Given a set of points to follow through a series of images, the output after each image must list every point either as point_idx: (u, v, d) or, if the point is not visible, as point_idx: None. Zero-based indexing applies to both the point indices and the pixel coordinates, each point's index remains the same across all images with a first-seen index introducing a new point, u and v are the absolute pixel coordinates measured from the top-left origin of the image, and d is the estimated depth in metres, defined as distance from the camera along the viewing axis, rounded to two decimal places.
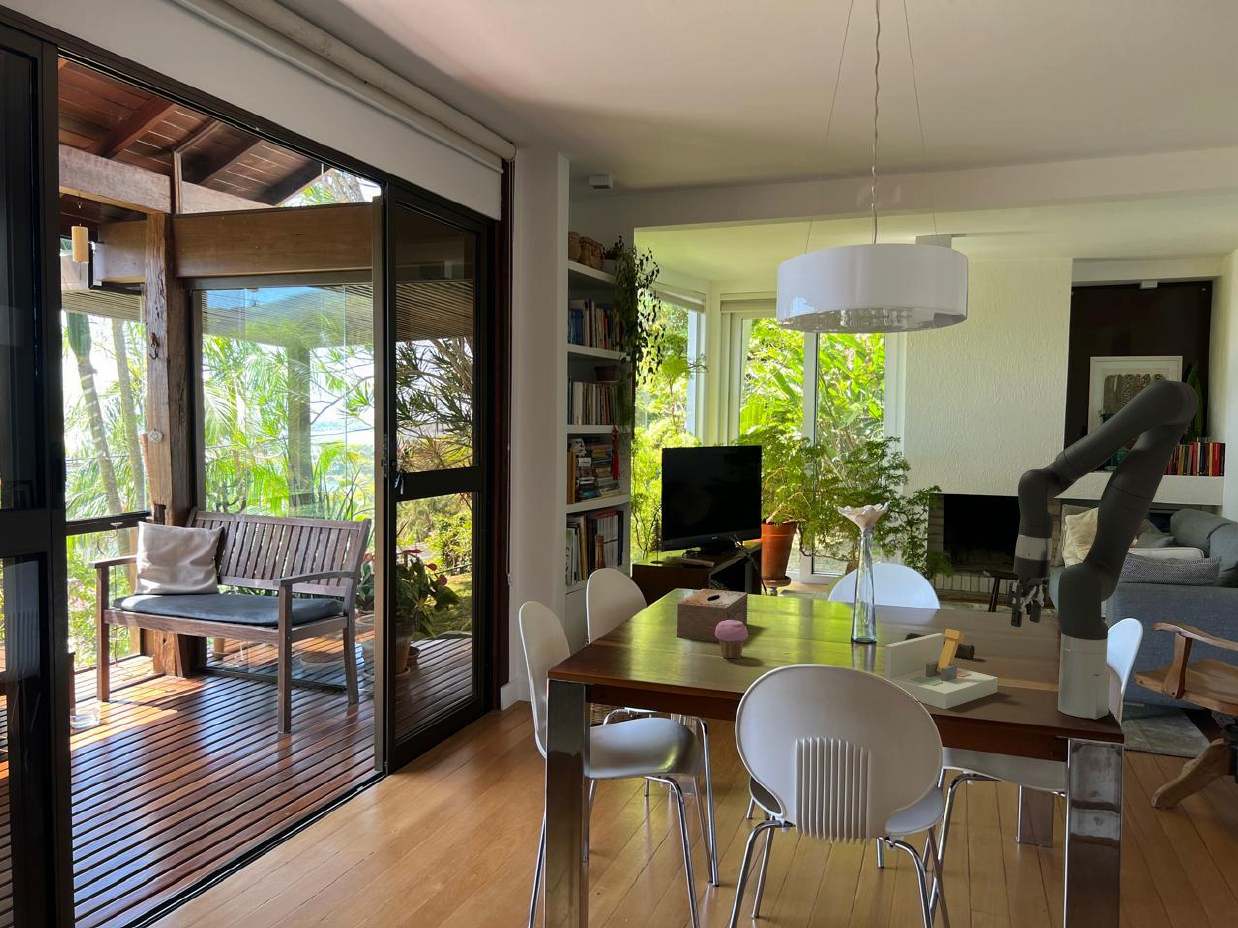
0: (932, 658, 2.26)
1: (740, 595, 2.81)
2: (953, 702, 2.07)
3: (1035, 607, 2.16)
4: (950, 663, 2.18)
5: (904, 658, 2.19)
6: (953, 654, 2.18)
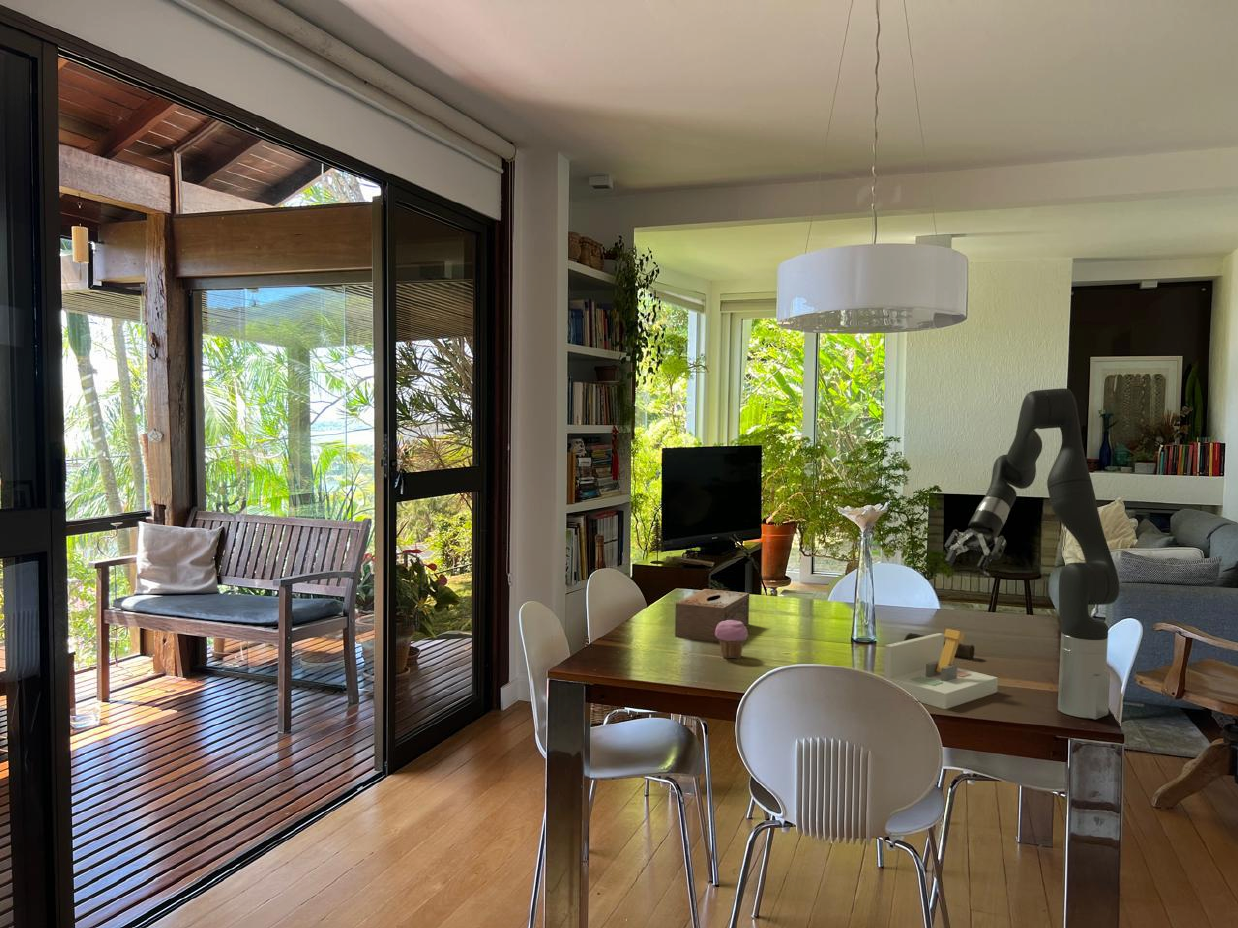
0: (932, 658, 2.26)
1: (741, 595, 2.81)
2: (953, 702, 2.07)
3: None
4: (950, 663, 2.18)
5: (904, 658, 2.19)
6: (953, 654, 2.18)
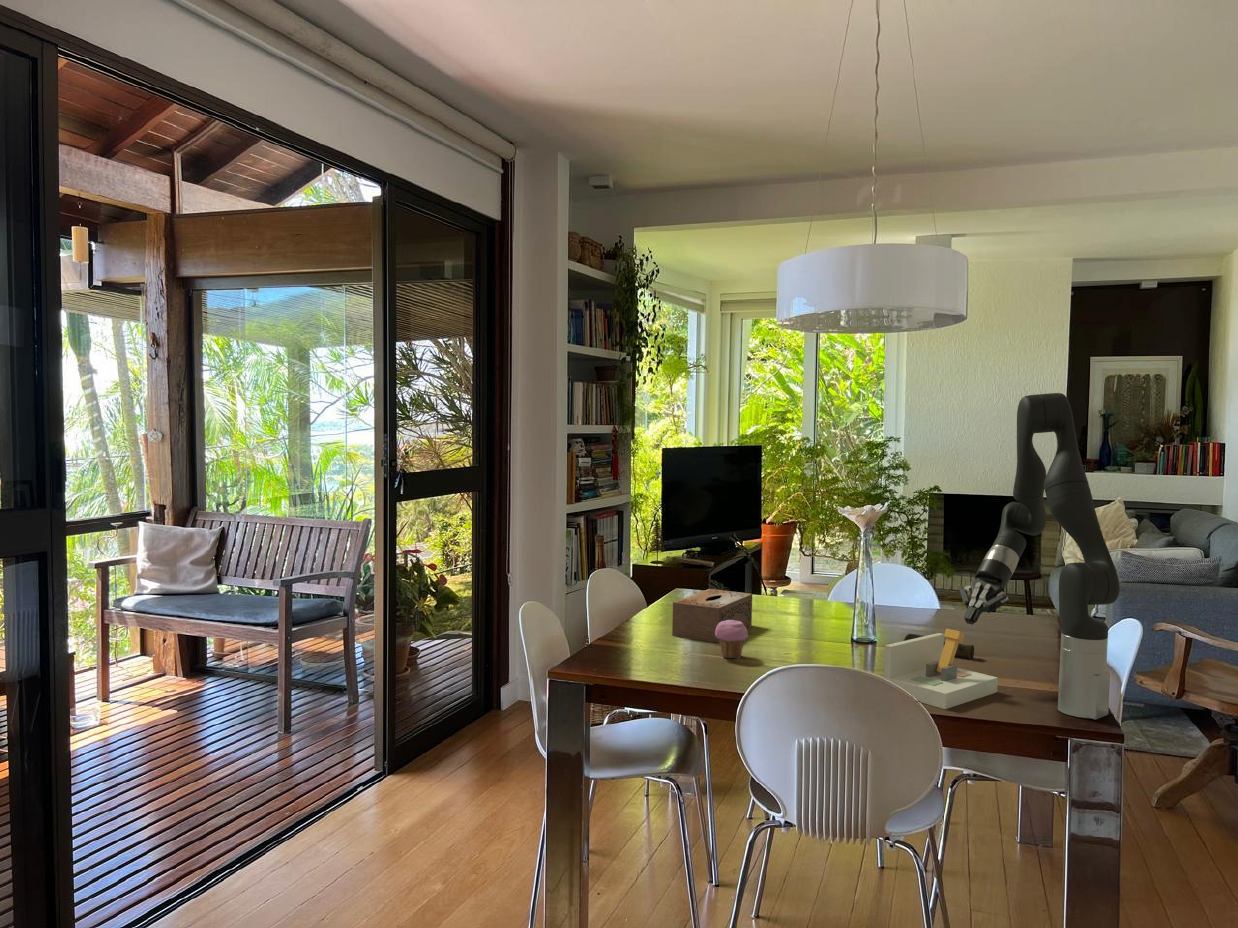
0: (932, 658, 2.26)
1: (742, 596, 2.80)
2: (953, 702, 2.07)
3: None
4: (950, 663, 2.18)
5: (904, 658, 2.19)
6: (953, 654, 2.18)
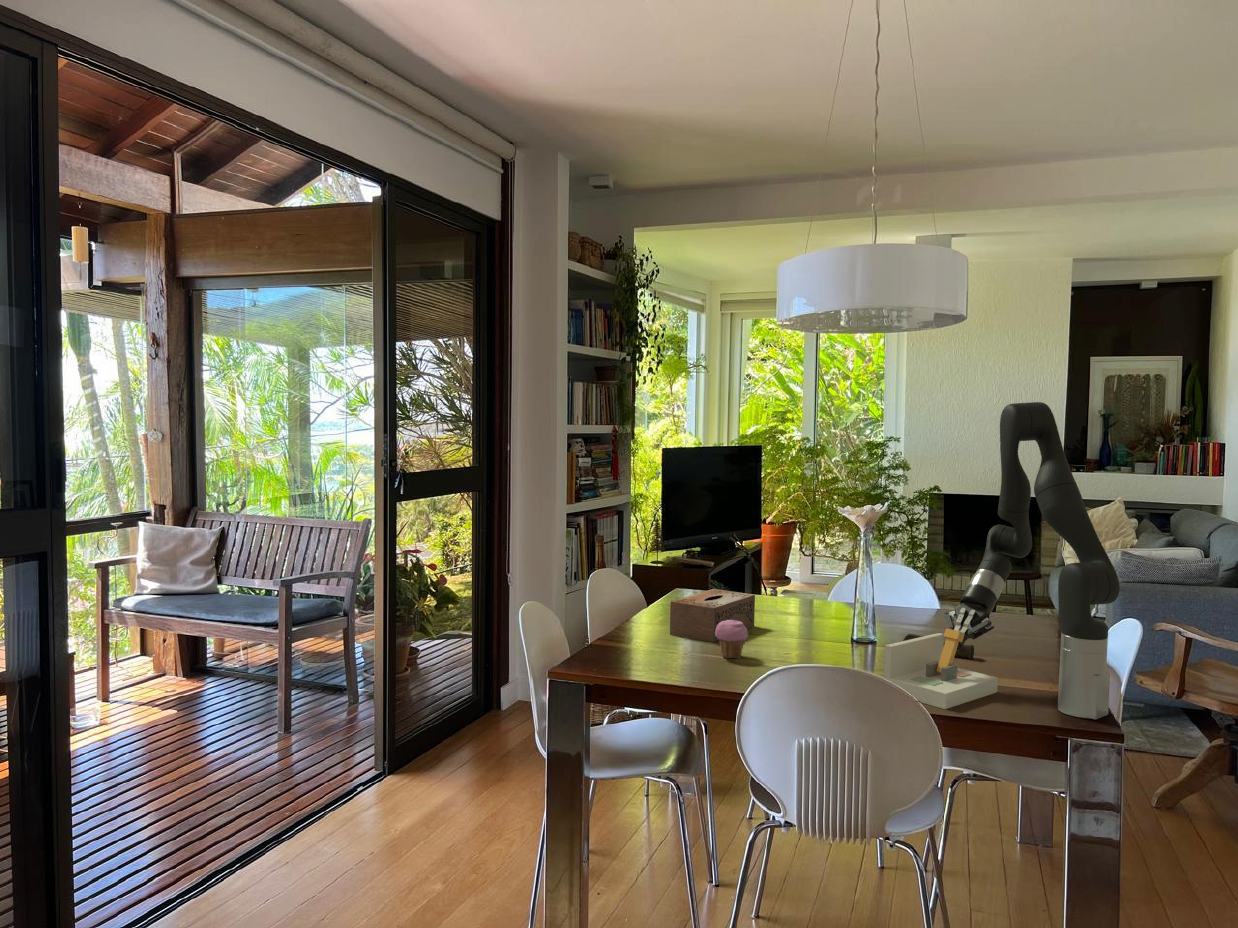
0: (932, 658, 2.26)
1: (744, 596, 2.79)
2: (953, 702, 2.07)
3: None
4: (950, 663, 2.18)
5: (904, 658, 2.19)
6: (953, 654, 2.18)
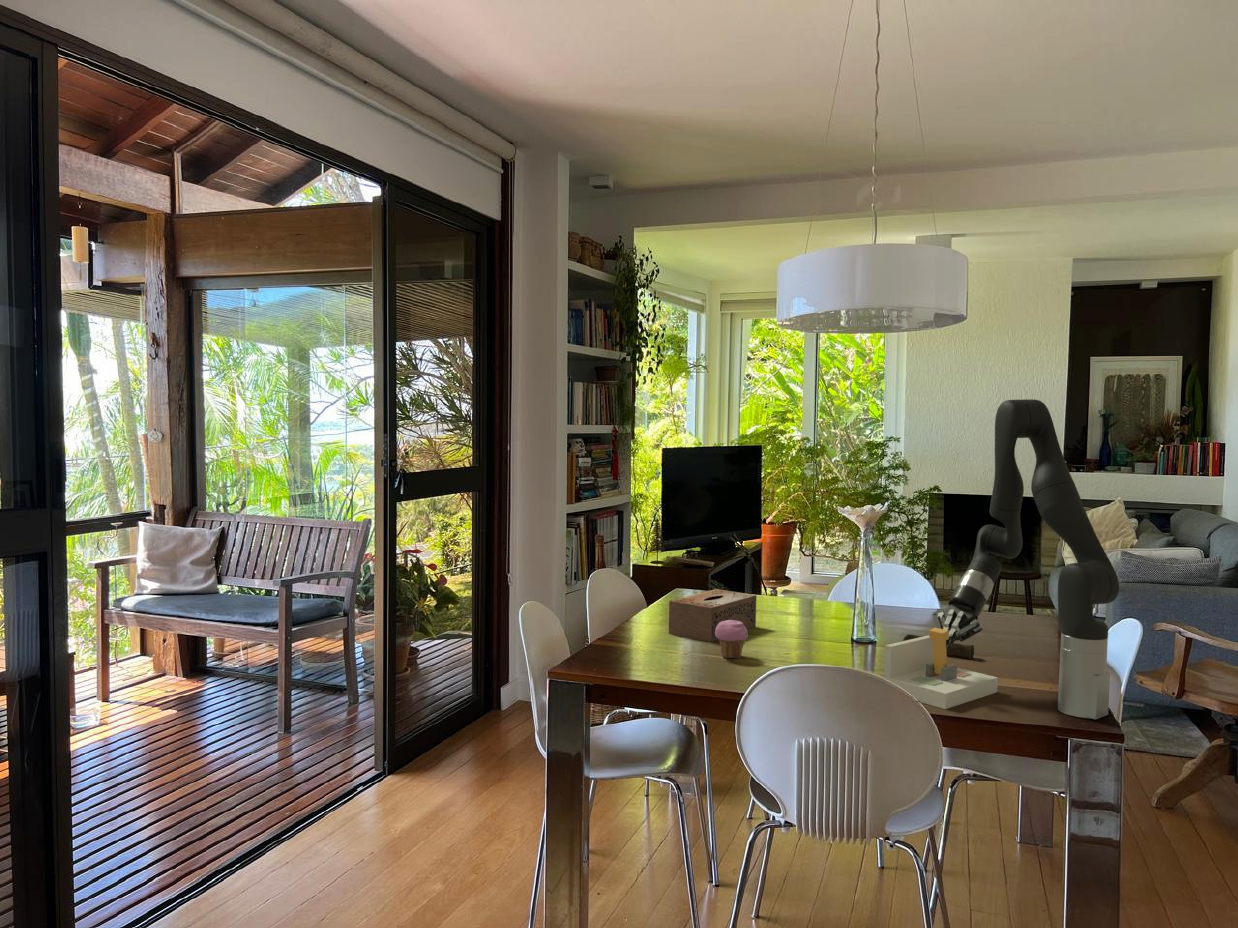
0: (932, 658, 2.26)
1: (744, 597, 2.79)
2: (953, 702, 2.07)
3: None
4: (945, 663, 2.16)
5: (904, 658, 2.19)
6: (944, 653, 2.16)
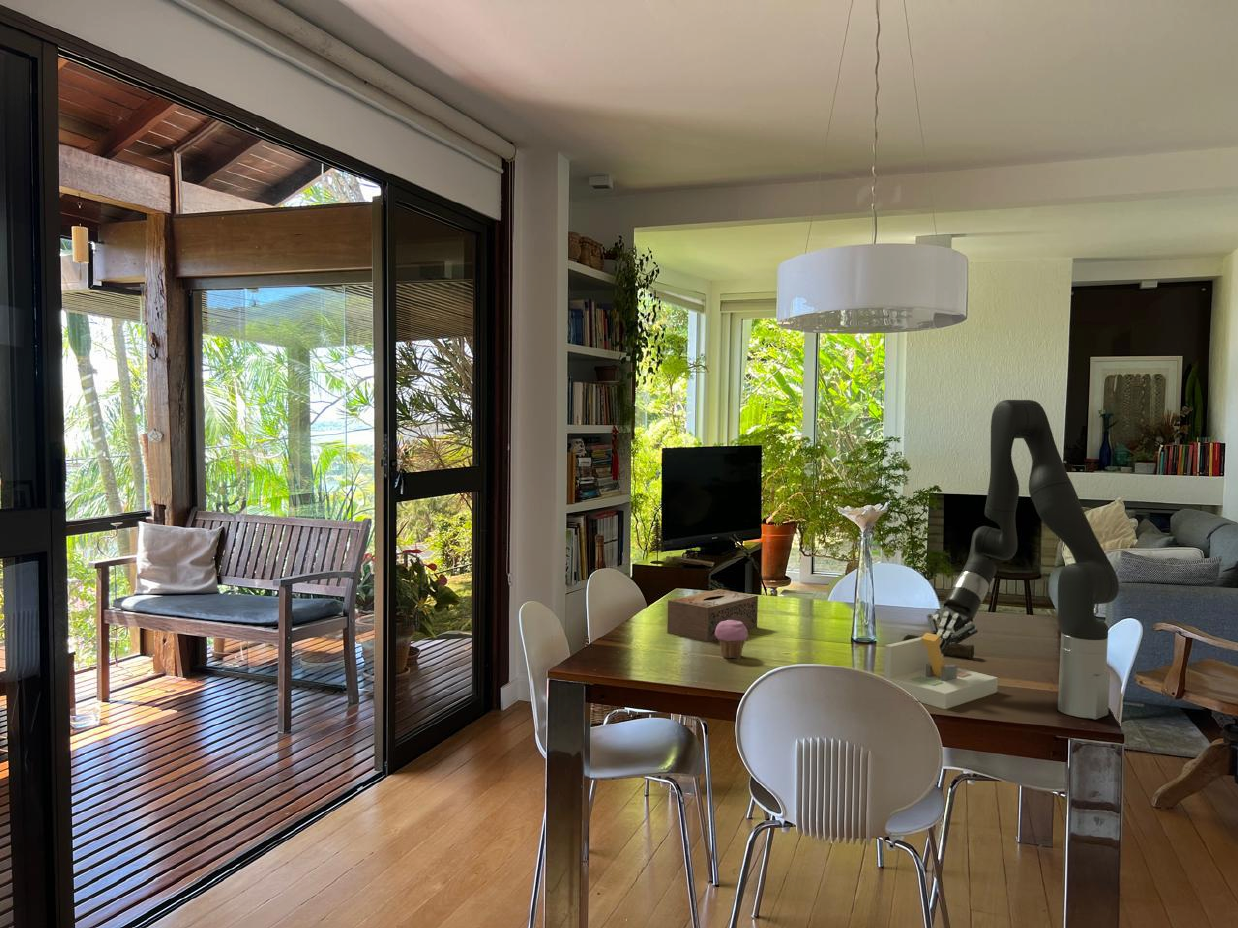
0: None
1: (745, 597, 2.78)
2: (953, 702, 2.07)
3: None
4: (942, 665, 2.16)
5: (904, 658, 2.19)
6: (940, 657, 2.15)
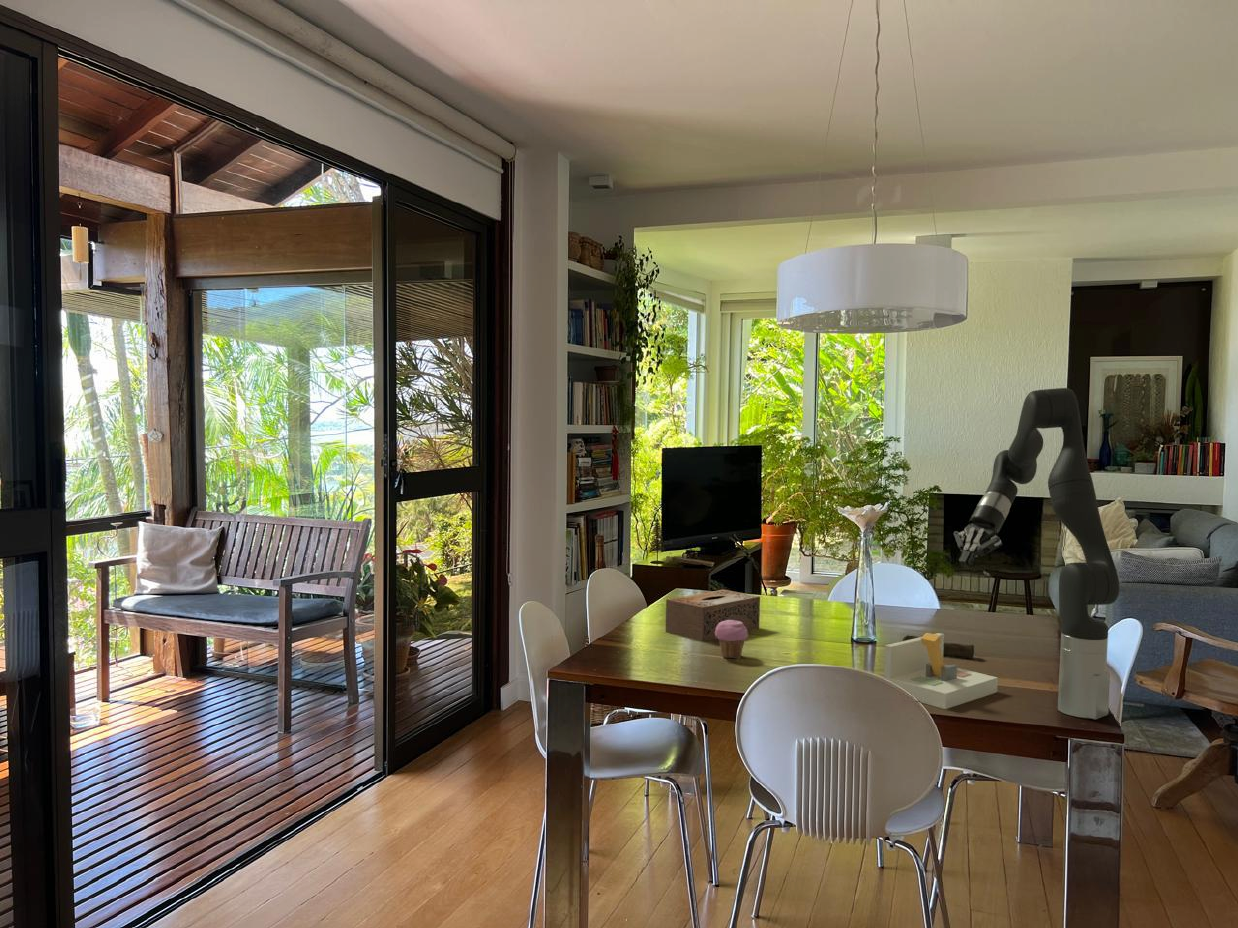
0: None
1: (746, 598, 2.77)
2: (953, 702, 2.07)
3: None
4: (942, 665, 2.16)
5: (904, 658, 2.19)
6: (940, 657, 2.15)
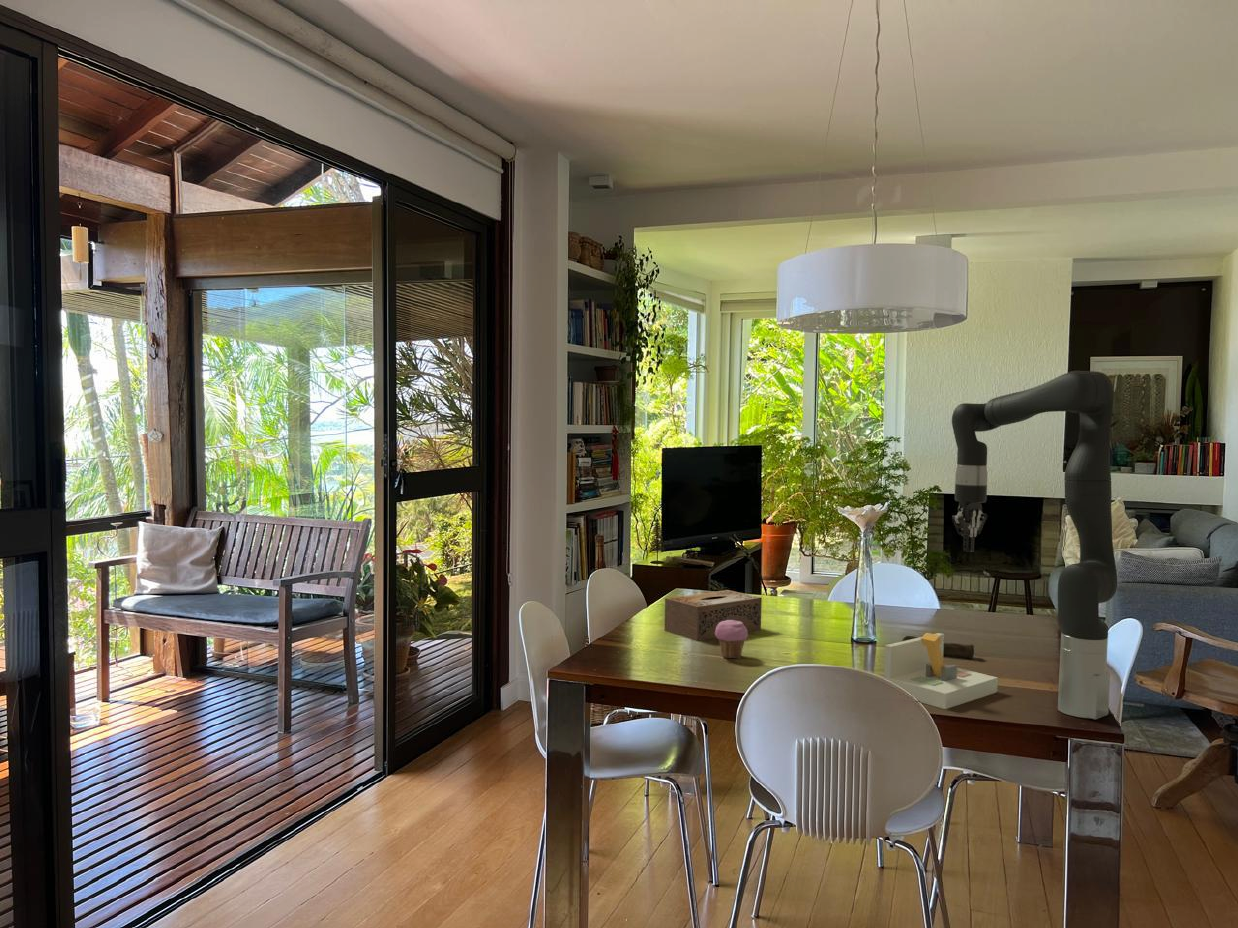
0: None
1: (746, 598, 2.76)
2: (953, 702, 2.07)
3: None
4: (942, 665, 2.16)
5: (904, 658, 2.19)
6: (940, 657, 2.15)
